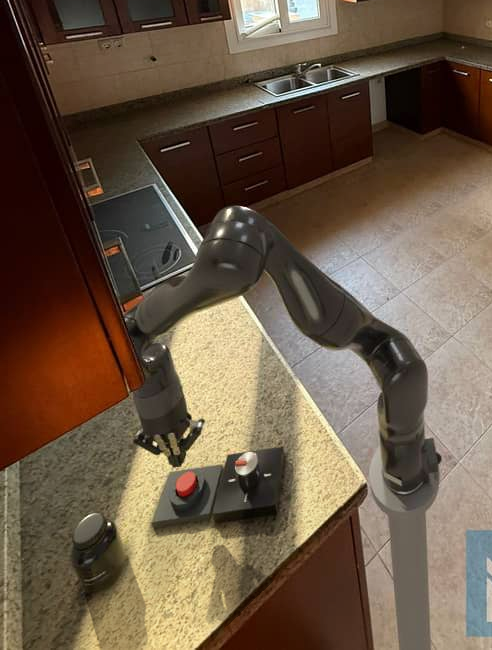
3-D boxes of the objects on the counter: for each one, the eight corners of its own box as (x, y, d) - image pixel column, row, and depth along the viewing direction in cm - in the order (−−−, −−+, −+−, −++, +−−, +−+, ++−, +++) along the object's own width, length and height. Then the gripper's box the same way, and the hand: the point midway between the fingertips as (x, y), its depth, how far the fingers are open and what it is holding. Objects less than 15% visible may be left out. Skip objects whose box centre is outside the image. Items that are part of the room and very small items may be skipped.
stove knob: (263, 465, 91) (259, 449, 89) (257, 489, 87) (254, 473, 85) (242, 467, 91) (238, 451, 89) (235, 491, 86) (231, 474, 85)
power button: (199, 476, 89) (197, 470, 89) (193, 495, 86) (191, 490, 85) (181, 478, 89) (179, 472, 88) (174, 498, 86) (172, 492, 85)
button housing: (223, 469, 93) (220, 458, 92) (211, 519, 85) (207, 507, 84) (171, 477, 92) (167, 466, 91) (153, 528, 84) (149, 516, 83)
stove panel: (285, 455, 95) (283, 445, 94) (277, 514, 85) (274, 504, 84) (229, 463, 94) (227, 454, 93) (214, 524, 84) (211, 513, 83)
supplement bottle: (93, 606, 73) (73, 563, 70) (76, 578, 77) (56, 536, 73) (134, 562, 79) (118, 520, 75) (116, 537, 83) (100, 496, 79)
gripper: (111, 423, 75) (135, 489, 81) (189, 412, 77) (207, 478, 82) (132, 384, 82) (152, 447, 88) (203, 375, 84) (218, 438, 89)
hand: (179, 462), depth 85 cm, fingers closed
